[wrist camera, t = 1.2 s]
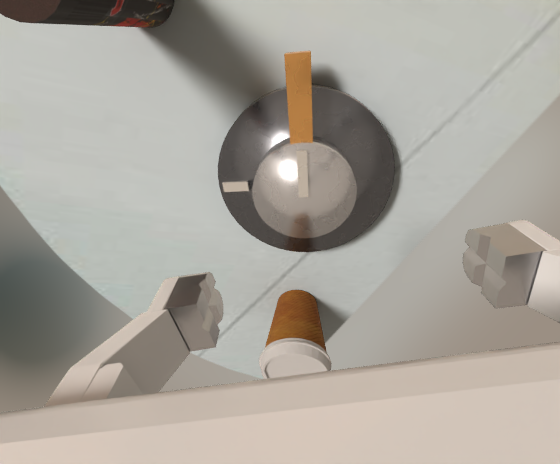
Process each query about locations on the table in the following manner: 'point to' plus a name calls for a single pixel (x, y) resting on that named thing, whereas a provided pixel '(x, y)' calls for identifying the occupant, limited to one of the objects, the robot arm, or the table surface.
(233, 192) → the plate
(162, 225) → the table surface
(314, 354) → the disposable coffee cup
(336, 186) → the dial
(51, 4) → the deodorant
